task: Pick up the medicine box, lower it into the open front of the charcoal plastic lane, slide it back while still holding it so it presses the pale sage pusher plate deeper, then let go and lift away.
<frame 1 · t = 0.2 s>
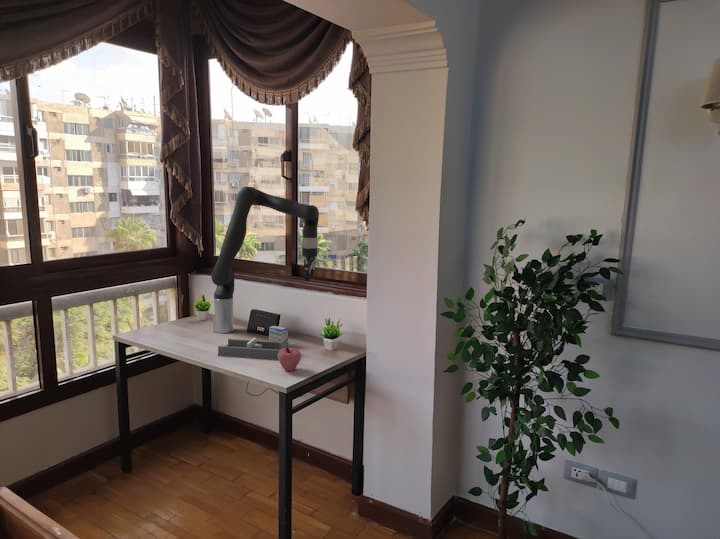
hand: (309, 279, 259), 29 cm above the table, tool pointing down, fingers open, 8 cm apart
apple: (288, 370, 214), on the table
pusher: (256, 345, 234), point 4 cm above the table, slide at 0.0 cm
lane: (254, 353, 235), on the table
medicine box: (278, 345, 248), on the table
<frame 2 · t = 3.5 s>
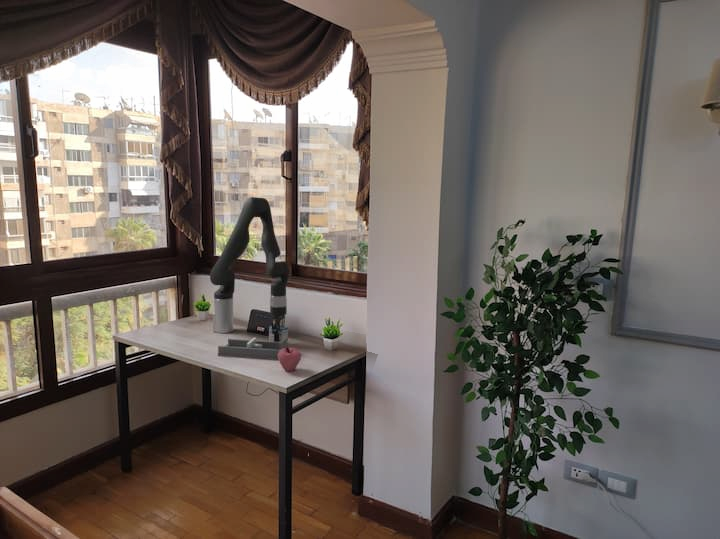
hand: (278, 339, 247), 3 cm above the table, tool pointing down, fingers closed on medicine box, 5 cm apart
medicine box: (278, 345, 248), on the table, touching gripper
everything else where it was.
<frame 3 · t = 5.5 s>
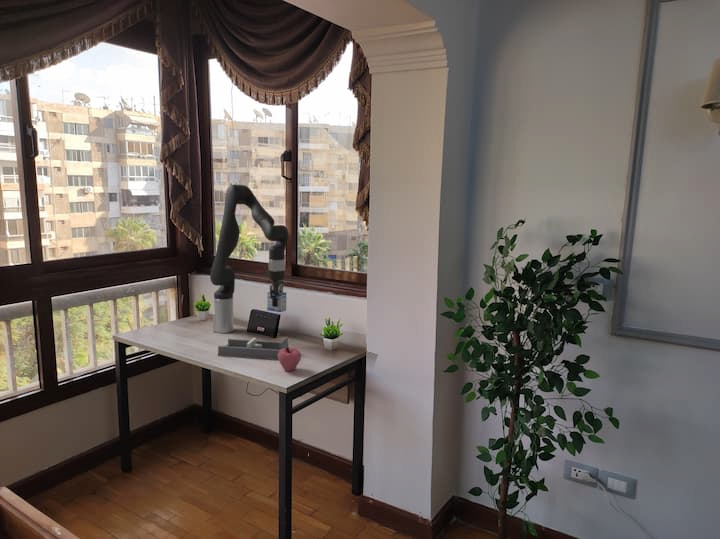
hand: (276, 305, 244), 19 cm above the table, tool pointing down, fingers closed on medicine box, 5 cm apart
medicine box: (276, 310, 245), point 16 cm above the table, touching gripper
everything else where it was.
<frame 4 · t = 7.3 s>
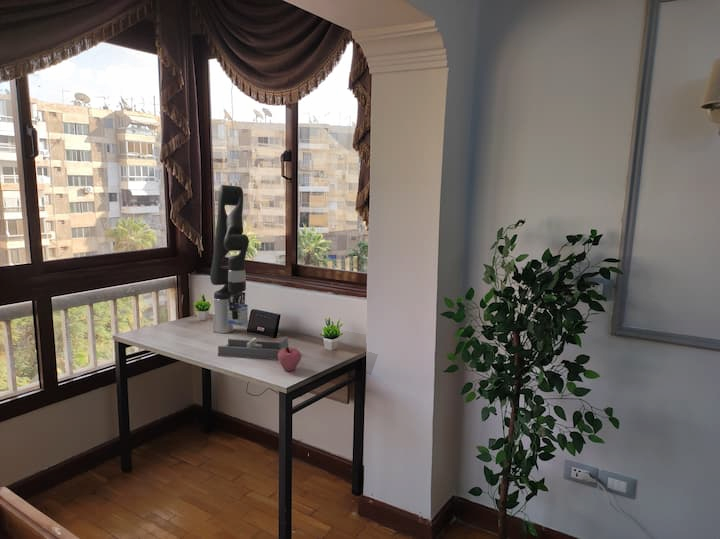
hand: (237, 317, 234), 16 cm above the table, tool pointing down, fingers closed on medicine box, 5 cm apart
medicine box: (237, 323, 234), point 13 cm above the table, touching gripper
everything else where it was.
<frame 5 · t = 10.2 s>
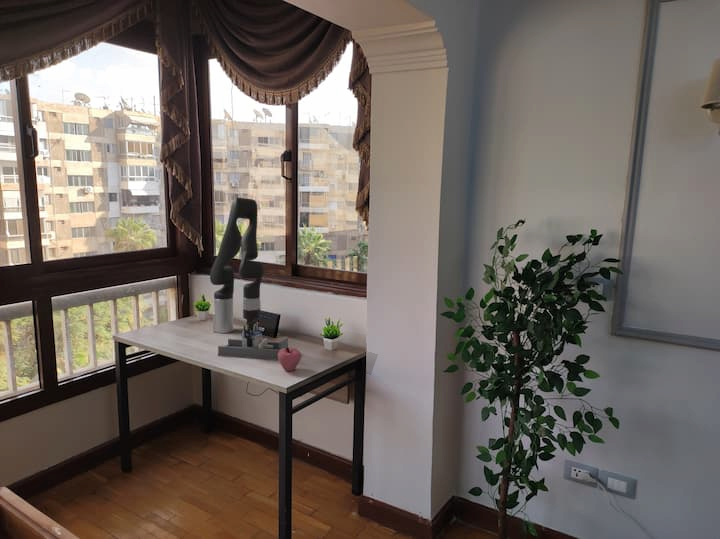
hand: (251, 344, 234), 4 cm above the table, tool pointing down, fingers closed on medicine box, 5 cm apart
pusher: (267, 346, 233), point 4 cm above the table, slide at 5.1 cm, touching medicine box
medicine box: (252, 350, 235), point 1 cm above the table, touching gripper, pusher
everything else where it was.
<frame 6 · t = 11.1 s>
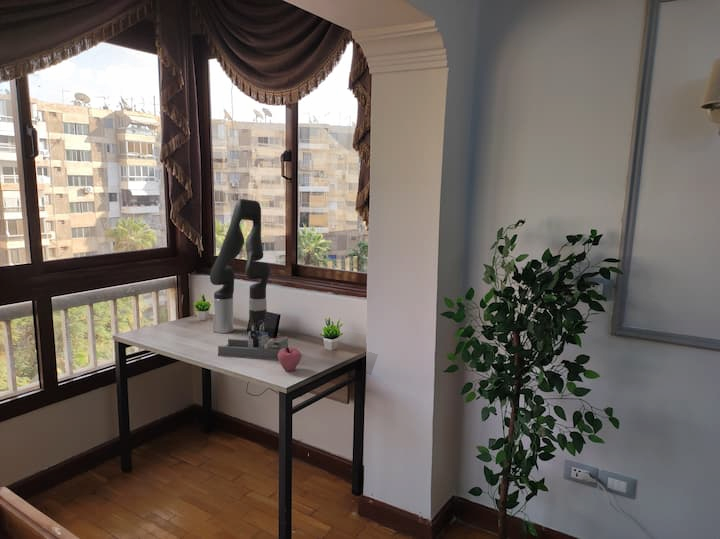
hand: (258, 345, 234), 4 cm above the table, tool pointing down, fingers closed on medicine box, 5 cm apart
pusher: (273, 346, 233), point 4 cm above the table, slide at 7.8 cm, touching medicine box
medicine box: (258, 351, 234), point 1 cm above the table, touching gripper, pusher
everything else where it was.
when the fingers open (4 cm above the table, at t = 11.4 s): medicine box stays where it is, resting on lane.
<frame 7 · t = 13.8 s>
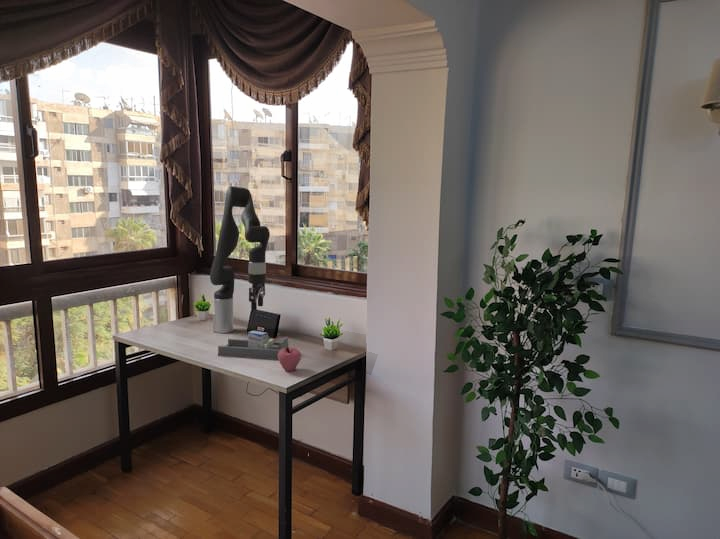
hand: (257, 308, 233), 20 cm above the table, tool pointing down, fingers open, 8 cm apart
pusher: (273, 346, 233), point 4 cm above the table, slide at 7.8 cm
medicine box: (258, 351, 235), point 1 cm above the table, touching lane
everything else where it was.
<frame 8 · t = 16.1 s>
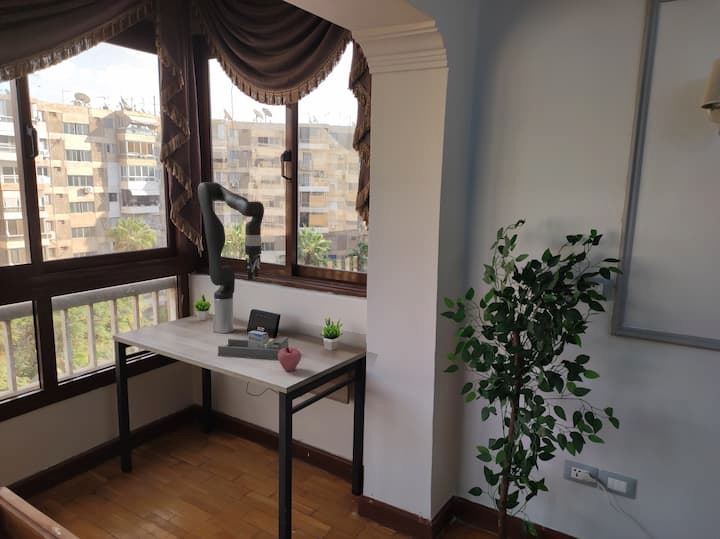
hand: (253, 278, 251), 30 cm above the table, tool pointing down, fingers open, 8 cm apart
nothing on the table moved.
at the end: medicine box inside the target area on the lane (0.6 cm from its centre), point 0.8 cm above the lane's base; pusher slide at 7.8 cm; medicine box tilted 0° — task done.
